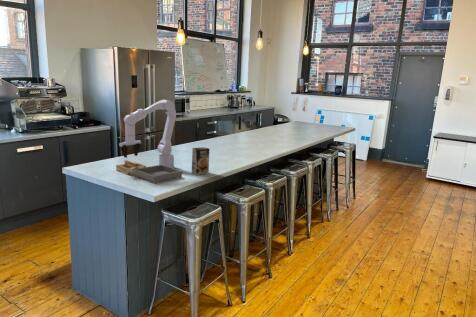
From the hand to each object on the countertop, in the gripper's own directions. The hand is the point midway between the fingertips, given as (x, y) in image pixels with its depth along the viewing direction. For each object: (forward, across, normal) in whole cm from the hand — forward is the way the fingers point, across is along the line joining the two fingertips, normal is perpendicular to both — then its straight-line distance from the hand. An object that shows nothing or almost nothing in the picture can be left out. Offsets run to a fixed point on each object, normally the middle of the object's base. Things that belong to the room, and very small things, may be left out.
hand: (130, 156), depth 224 cm
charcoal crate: (+9, -4, +21) cm, 23 cm away
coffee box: (+10, -28, +33) cm, 44 cm away
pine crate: (+9, 0, 0) cm, 9 cm away
